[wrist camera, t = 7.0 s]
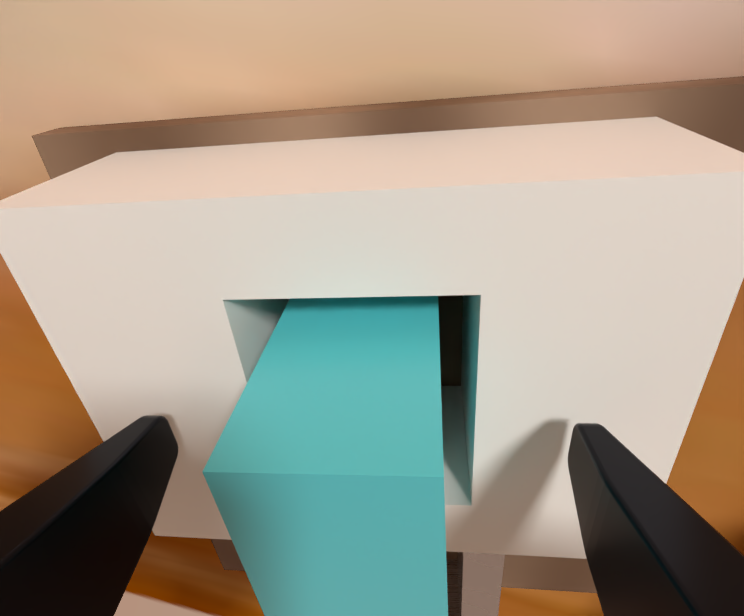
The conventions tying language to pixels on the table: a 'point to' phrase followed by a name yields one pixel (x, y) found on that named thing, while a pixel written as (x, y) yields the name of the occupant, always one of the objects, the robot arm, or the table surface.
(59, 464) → the table surface
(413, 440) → the plug
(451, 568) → the holster
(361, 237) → the port box
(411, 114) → the board
